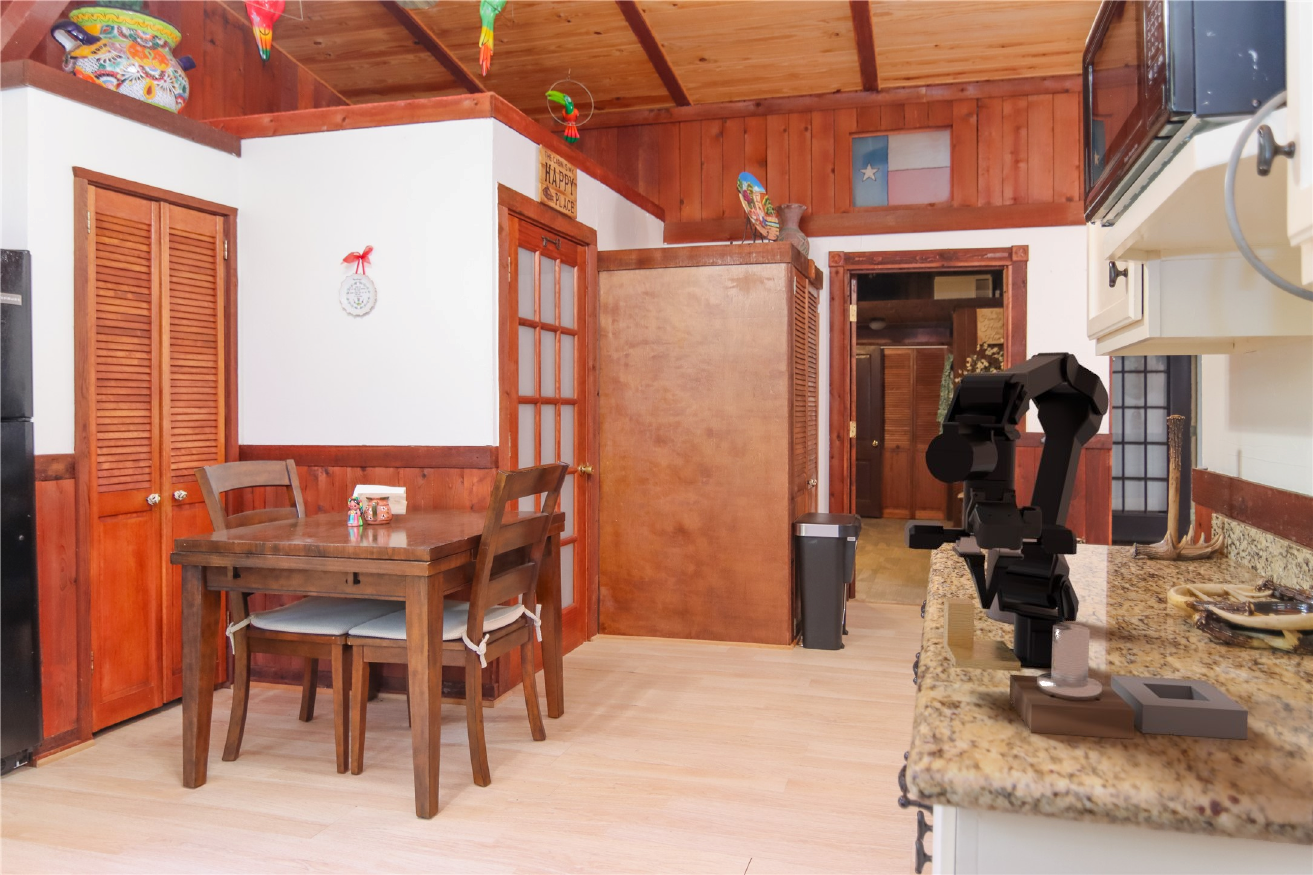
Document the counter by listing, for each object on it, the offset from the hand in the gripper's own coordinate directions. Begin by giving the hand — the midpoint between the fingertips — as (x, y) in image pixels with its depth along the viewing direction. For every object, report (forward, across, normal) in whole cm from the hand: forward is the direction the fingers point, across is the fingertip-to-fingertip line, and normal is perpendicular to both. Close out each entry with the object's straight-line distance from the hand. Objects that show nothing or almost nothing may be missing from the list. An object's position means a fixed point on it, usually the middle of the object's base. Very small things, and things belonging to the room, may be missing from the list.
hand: (985, 608), depth 108 cm
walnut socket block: (+10, +7, -9) cm, 15 cm away
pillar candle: (+10, +12, +37) cm, 40 cm away
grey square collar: (+10, +19, -7) cm, 22 cm away
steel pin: (+10, +7, -9) cm, 15 cm away
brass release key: (+5, -1, -3) cm, 6 cm away
